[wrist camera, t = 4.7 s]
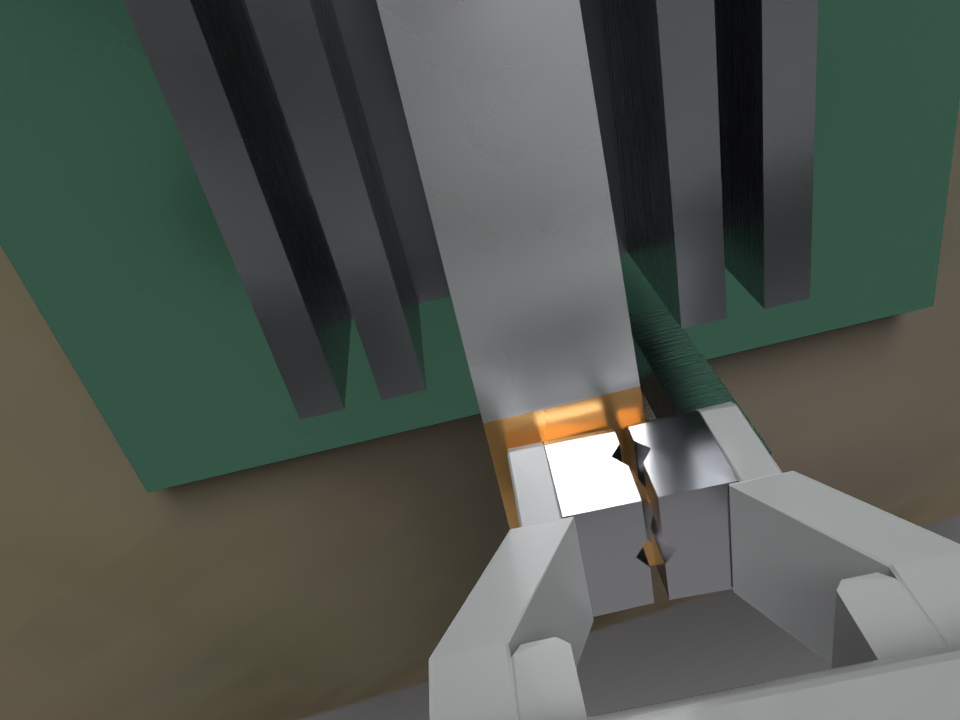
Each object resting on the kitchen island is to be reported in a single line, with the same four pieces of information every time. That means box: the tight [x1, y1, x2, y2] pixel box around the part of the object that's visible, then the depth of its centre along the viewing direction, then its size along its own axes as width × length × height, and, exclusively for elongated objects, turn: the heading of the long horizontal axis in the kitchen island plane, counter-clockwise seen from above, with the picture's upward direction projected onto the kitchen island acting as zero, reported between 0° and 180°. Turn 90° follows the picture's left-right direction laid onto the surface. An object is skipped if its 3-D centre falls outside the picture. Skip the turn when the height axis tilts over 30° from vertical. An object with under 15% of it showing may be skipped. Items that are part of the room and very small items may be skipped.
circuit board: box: [0, 0, 960, 492], centre depth 11 cm, size 18×16×6 cm
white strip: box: [376, 0, 656, 566], centre depth 9 cm, size 3×14×1 cm, turn 12°
